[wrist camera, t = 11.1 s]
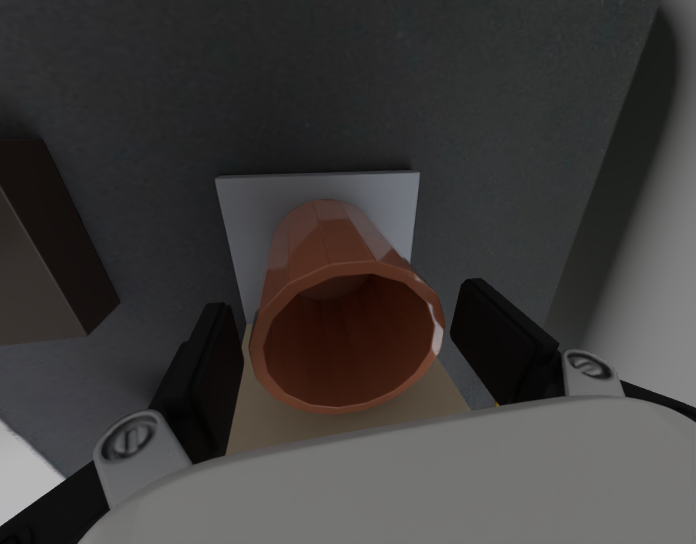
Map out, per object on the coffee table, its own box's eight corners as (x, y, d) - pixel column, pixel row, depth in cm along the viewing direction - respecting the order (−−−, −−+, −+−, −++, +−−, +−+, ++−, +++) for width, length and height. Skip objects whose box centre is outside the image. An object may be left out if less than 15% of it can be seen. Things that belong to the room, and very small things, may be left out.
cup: (260, 201, 16) (229, 272, 8) (383, 196, 17) (461, 253, 9) (277, 306, 19) (266, 427, 11) (377, 295, 20) (430, 399, 13)
